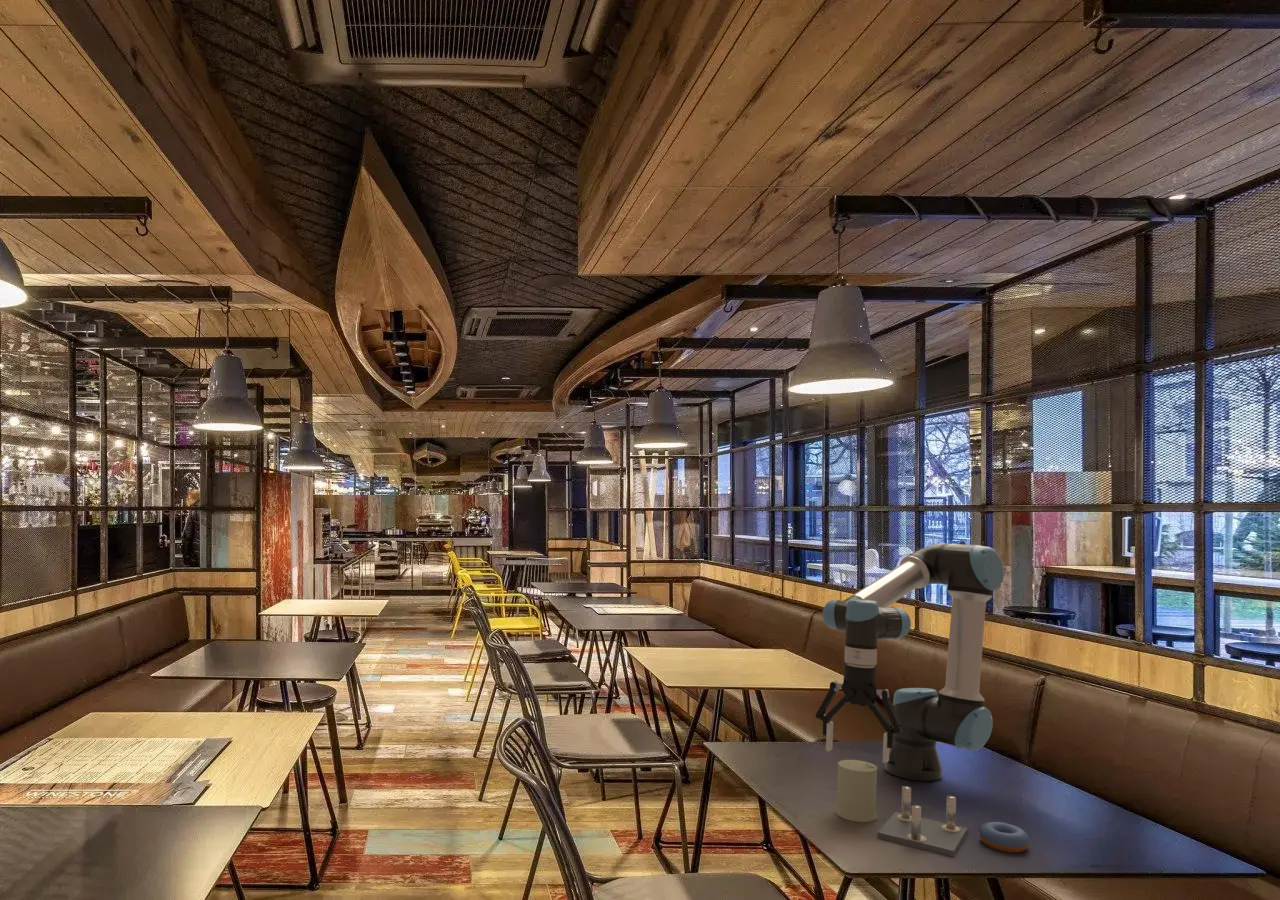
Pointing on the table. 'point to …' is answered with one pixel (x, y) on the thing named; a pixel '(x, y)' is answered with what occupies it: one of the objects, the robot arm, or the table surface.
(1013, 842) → the doughnut
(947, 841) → the board
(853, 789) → the can
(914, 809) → the pins
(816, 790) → the table surface
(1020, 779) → the table surface
